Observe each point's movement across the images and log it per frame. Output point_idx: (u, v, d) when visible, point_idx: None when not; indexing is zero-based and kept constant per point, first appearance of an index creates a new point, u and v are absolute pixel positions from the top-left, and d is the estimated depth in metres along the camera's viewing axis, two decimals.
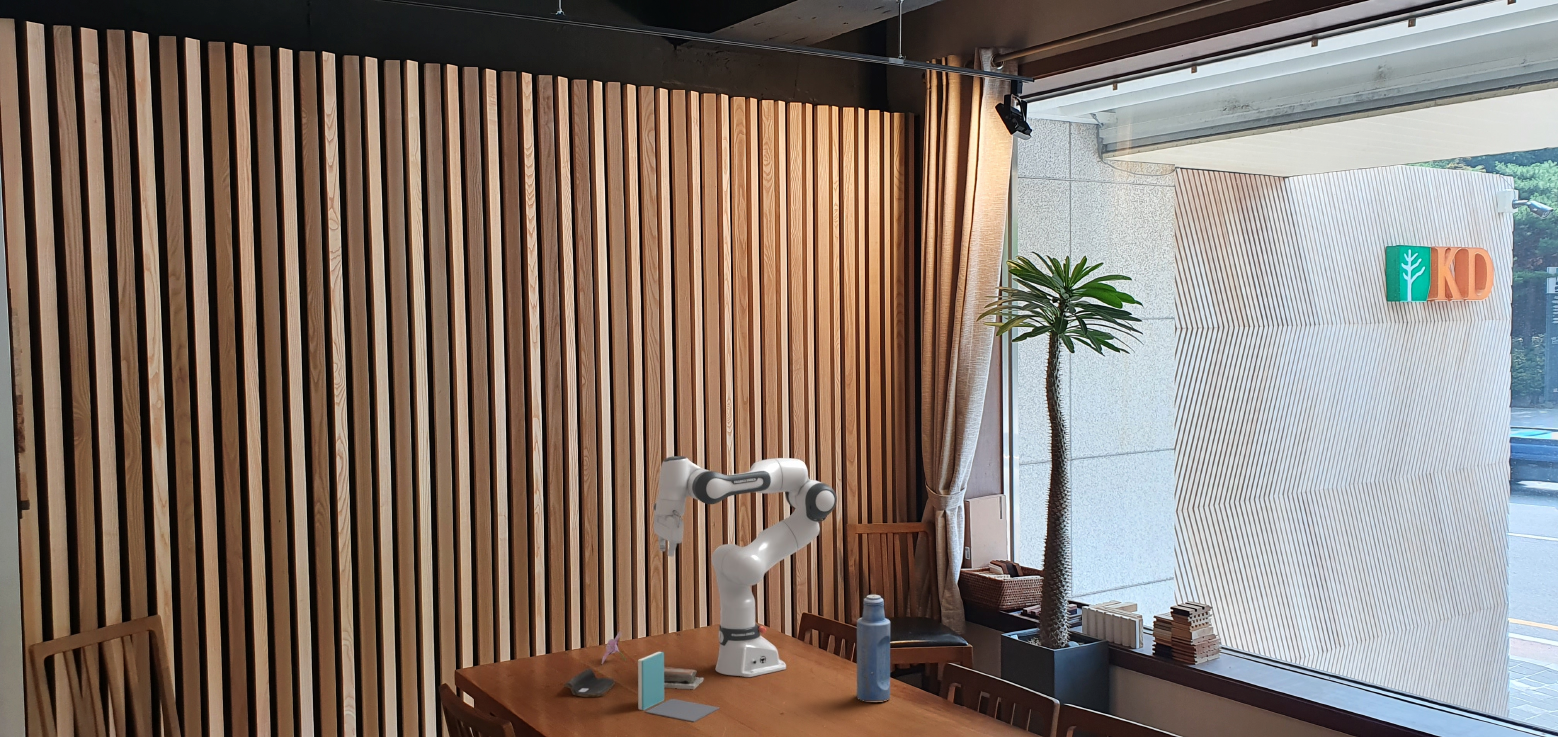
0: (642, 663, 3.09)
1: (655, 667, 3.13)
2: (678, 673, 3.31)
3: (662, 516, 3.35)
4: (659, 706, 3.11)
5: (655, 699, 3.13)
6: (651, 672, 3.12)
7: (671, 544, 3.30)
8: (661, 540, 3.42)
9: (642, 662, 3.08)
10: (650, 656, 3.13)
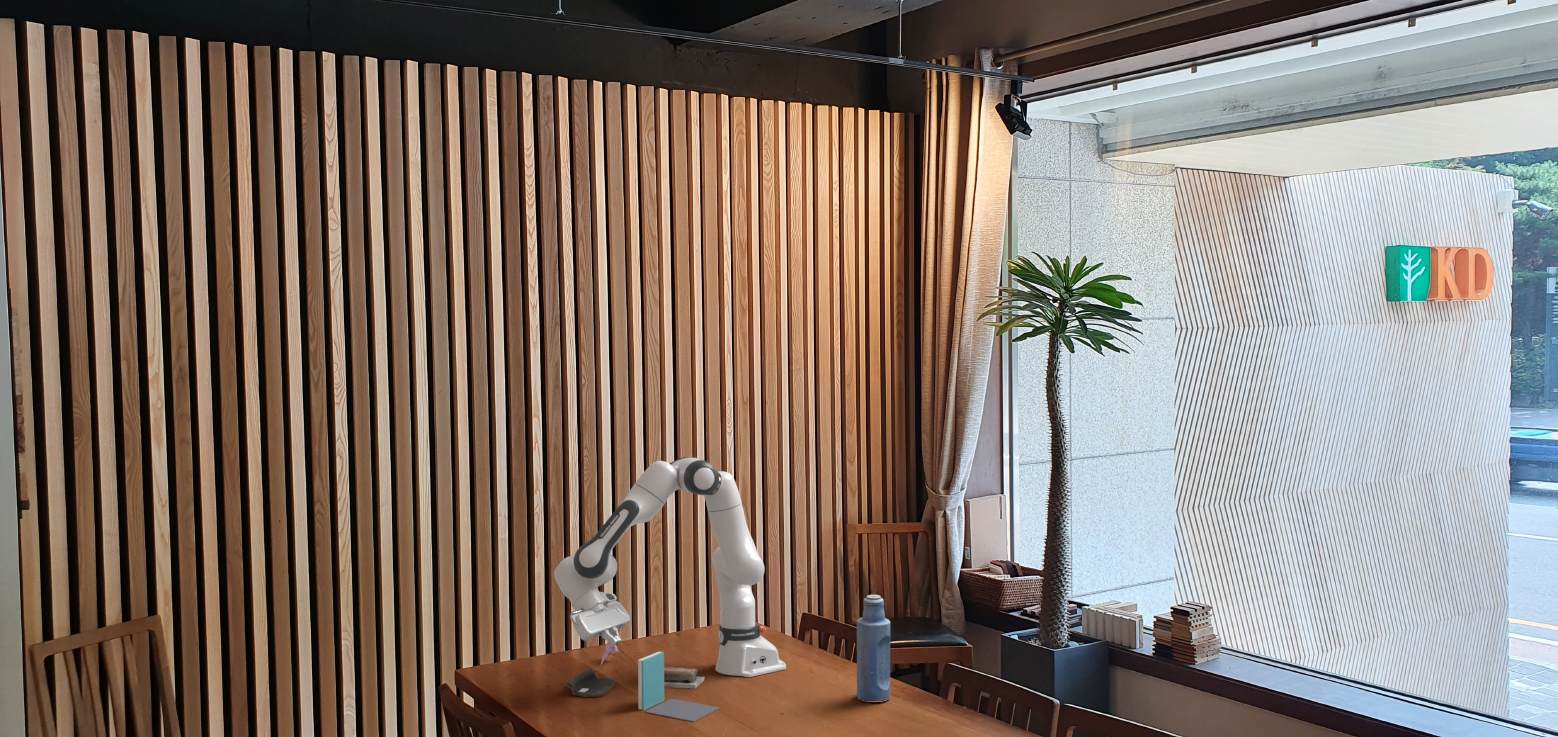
0: (642, 663, 3.09)
1: (655, 667, 3.13)
2: (679, 672, 3.31)
3: None
4: (659, 706, 3.11)
5: (655, 699, 3.13)
6: (651, 672, 3.12)
7: (603, 636, 3.18)
8: (614, 634, 3.21)
9: (642, 662, 3.08)
10: (650, 656, 3.13)
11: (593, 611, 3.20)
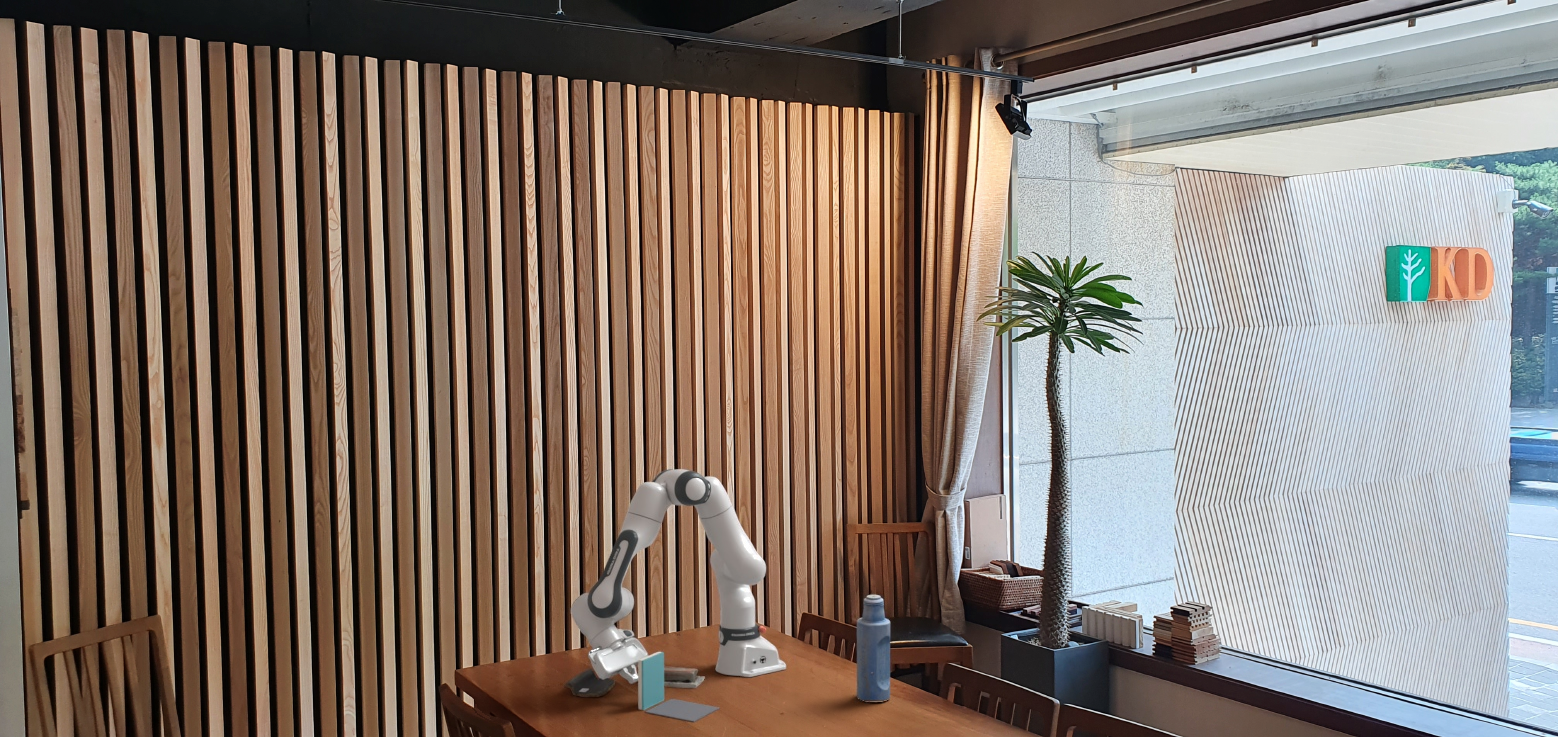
0: (642, 663, 3.09)
1: (655, 667, 3.13)
2: (680, 672, 3.32)
3: None
4: (659, 706, 3.11)
5: (655, 699, 3.13)
6: (651, 672, 3.12)
7: (621, 674, 3.15)
8: (632, 671, 3.19)
9: (642, 662, 3.08)
10: (650, 656, 3.13)
11: (611, 649, 3.17)
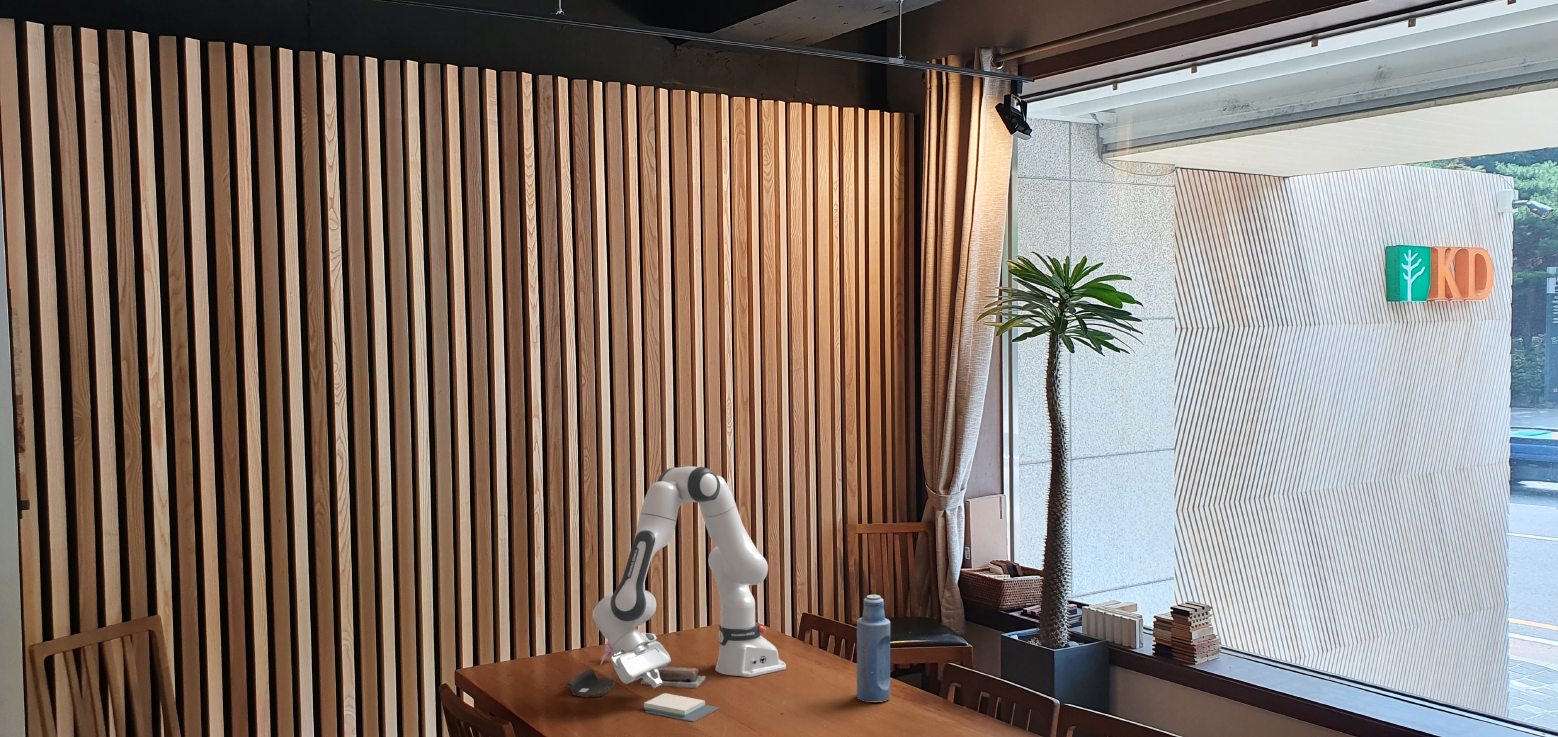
0: (682, 715, 3.02)
1: None
2: (680, 672, 3.32)
3: None
4: None
5: None
6: None
7: (644, 678, 3.11)
8: (655, 675, 3.14)
9: (683, 715, 3.02)
10: (694, 709, 3.06)
11: (634, 653, 3.13)
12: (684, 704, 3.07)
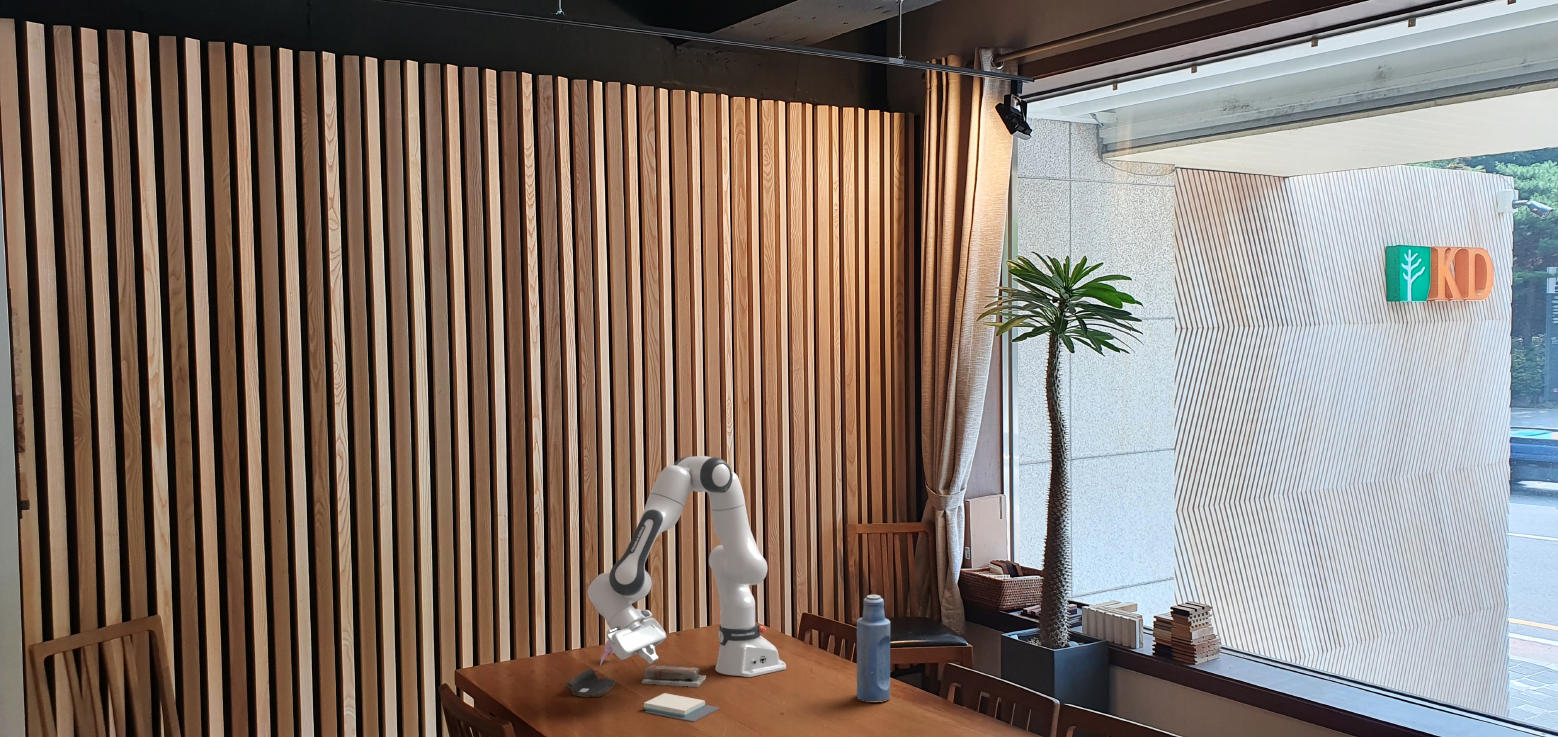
0: (682, 715, 3.02)
1: None
2: (682, 671, 3.33)
3: None
4: None
5: None
6: None
7: (640, 654, 3.12)
8: (650, 651, 3.15)
9: (683, 715, 3.02)
10: (694, 709, 3.06)
11: (629, 629, 3.13)
12: (684, 704, 3.07)
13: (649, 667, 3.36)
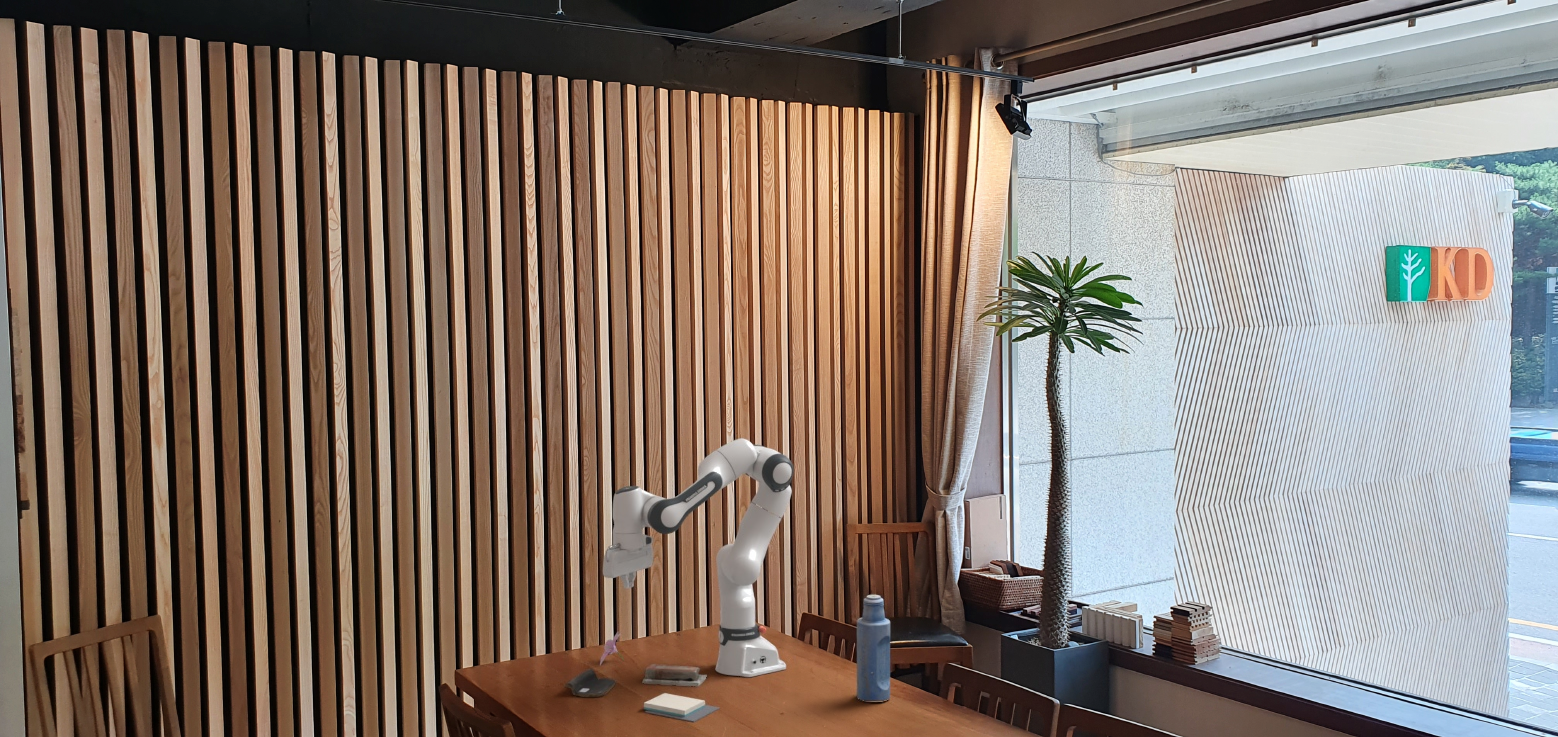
0: (682, 715, 3.02)
1: None
2: (682, 671, 3.33)
3: None
4: None
5: None
6: None
7: (621, 576, 3.24)
8: (630, 576, 3.27)
9: (683, 715, 3.02)
10: (694, 709, 3.06)
11: (627, 552, 3.22)
12: (684, 704, 3.07)
13: (650, 667, 3.37)
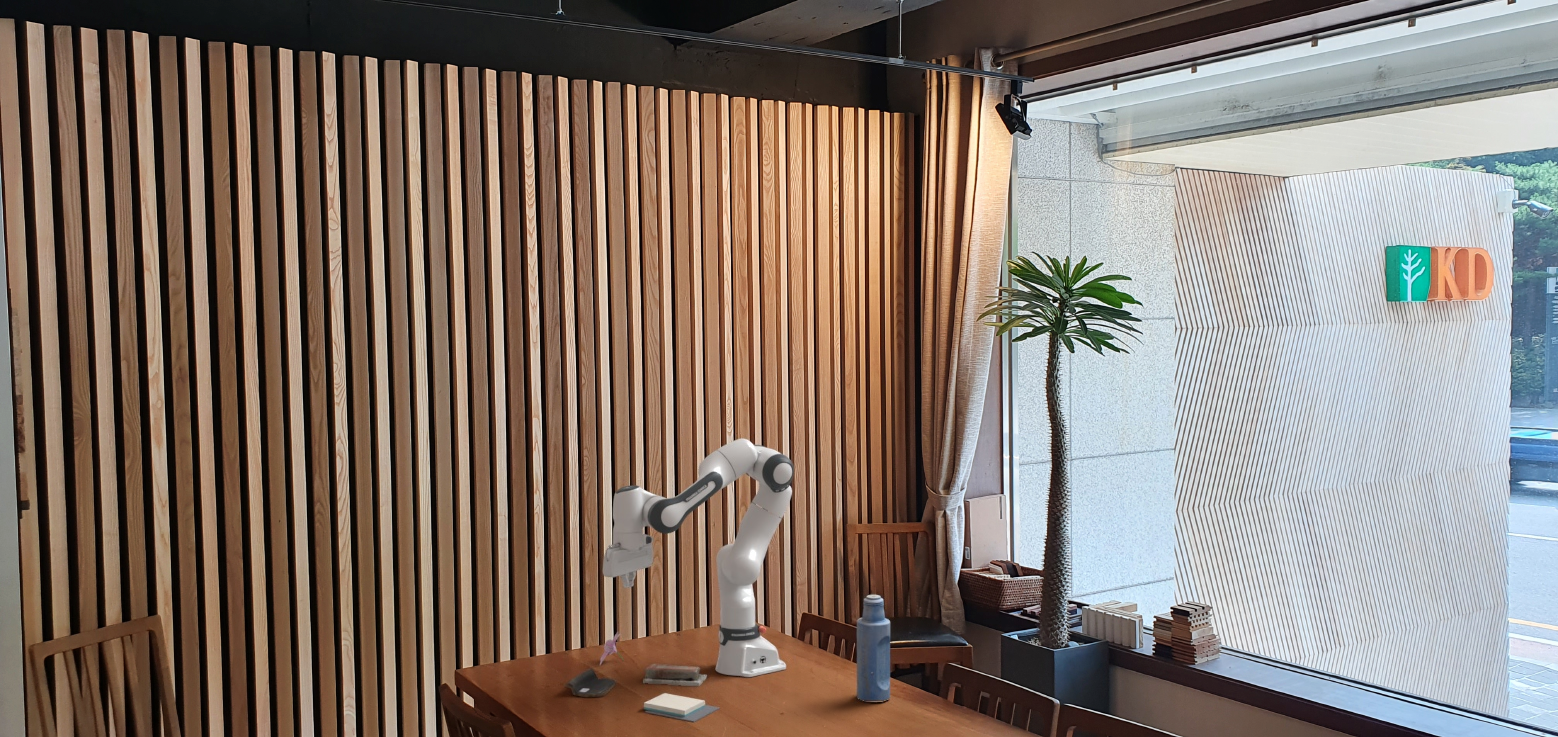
0: (682, 715, 3.02)
1: None
2: (683, 670, 3.33)
3: None
4: None
5: None
6: None
7: (621, 575, 3.24)
8: (630, 575, 3.27)
9: (683, 715, 3.02)
10: (694, 709, 3.06)
11: (627, 551, 3.22)
12: (684, 704, 3.07)
13: (650, 666, 3.37)
